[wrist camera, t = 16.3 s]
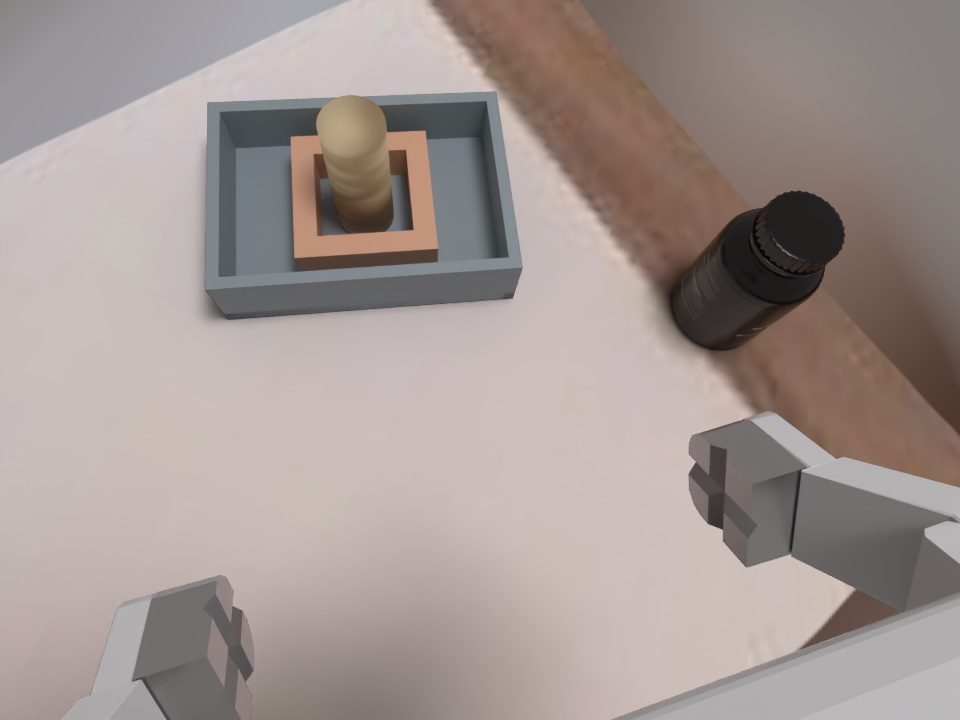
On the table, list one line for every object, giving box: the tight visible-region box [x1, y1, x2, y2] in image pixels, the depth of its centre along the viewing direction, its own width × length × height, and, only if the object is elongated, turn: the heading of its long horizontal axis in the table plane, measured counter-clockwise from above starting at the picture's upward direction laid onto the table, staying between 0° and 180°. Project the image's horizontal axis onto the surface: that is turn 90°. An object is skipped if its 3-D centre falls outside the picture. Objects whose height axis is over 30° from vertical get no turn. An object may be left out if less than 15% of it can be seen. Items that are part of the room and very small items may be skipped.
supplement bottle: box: [672, 191, 845, 349], centre depth 42 cm, size 7×7×12 cm
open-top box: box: [205, 92, 523, 320], centre depth 45 cm, size 20×14×5 cm
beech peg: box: [316, 95, 394, 234], centre depth 42 cm, size 4×4×10 cm
